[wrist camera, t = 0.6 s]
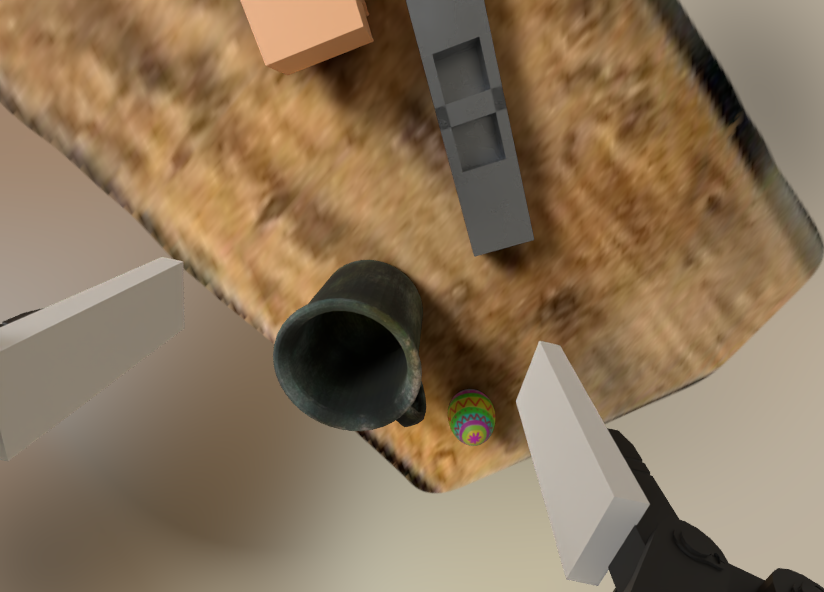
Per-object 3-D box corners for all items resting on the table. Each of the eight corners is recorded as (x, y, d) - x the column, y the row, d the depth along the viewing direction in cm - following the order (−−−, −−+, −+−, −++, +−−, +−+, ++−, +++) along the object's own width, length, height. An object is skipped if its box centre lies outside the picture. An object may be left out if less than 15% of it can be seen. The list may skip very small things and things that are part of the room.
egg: (453, 378, 42) (455, 414, 36) (497, 387, 42) (506, 425, 37) (443, 414, 44) (443, 454, 38) (485, 423, 44) (491, 464, 38)
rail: (397, -31, 29) (391, -56, 26) (462, -58, 28) (465, -88, 25) (471, 245, 37) (474, 256, 33) (524, 229, 36) (534, 239, 32)
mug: (382, 231, 37) (356, 269, 26) (466, 346, 40) (475, 423, 29) (297, 291, 40) (240, 349, 28) (383, 393, 43) (363, 480, 32)
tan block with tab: (301, 81, 33) (265, 65, 26) (265, -17, 30) (217, -60, 24) (379, 50, 31) (363, 26, 25) (349, -54, 29) (322, -110, 23)
